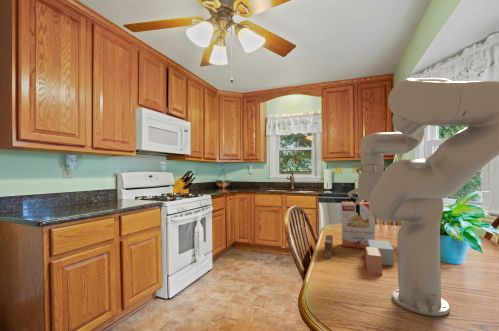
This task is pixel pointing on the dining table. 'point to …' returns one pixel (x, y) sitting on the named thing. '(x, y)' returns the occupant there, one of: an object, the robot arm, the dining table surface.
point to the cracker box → (357, 225)
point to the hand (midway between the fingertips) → (373, 215)
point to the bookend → (328, 246)
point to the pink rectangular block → (373, 261)
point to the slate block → (383, 250)
